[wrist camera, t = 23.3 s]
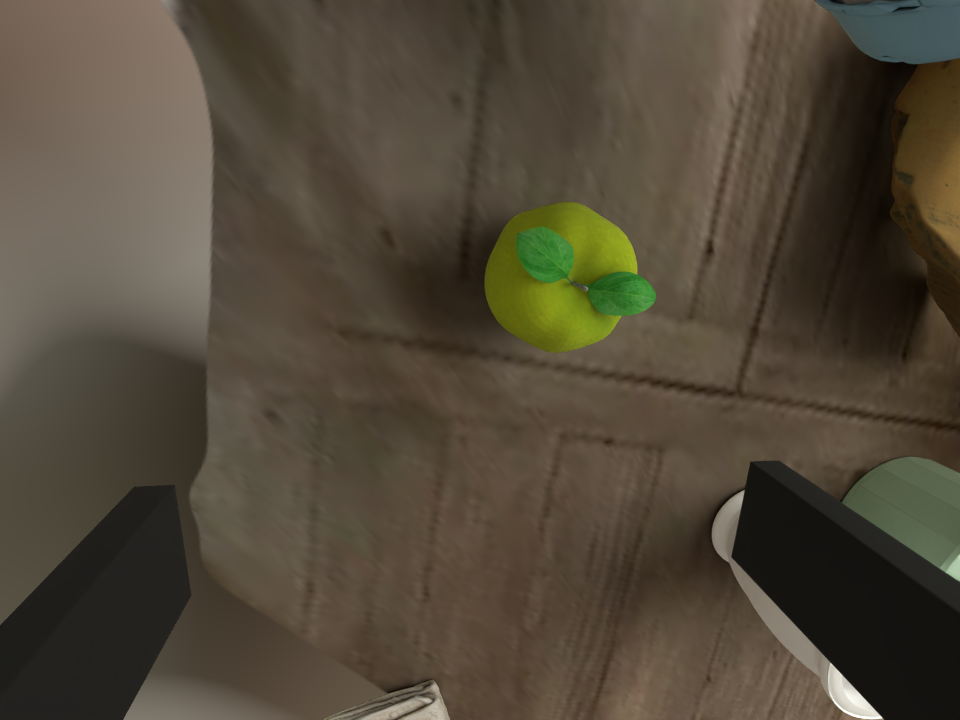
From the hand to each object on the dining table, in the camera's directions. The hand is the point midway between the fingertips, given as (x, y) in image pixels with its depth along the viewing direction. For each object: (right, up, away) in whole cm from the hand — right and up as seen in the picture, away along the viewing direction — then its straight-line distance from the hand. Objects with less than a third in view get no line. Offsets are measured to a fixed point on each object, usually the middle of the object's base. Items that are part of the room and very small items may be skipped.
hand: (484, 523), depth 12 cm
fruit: (+4, +11, +26) cm, 28 cm away
